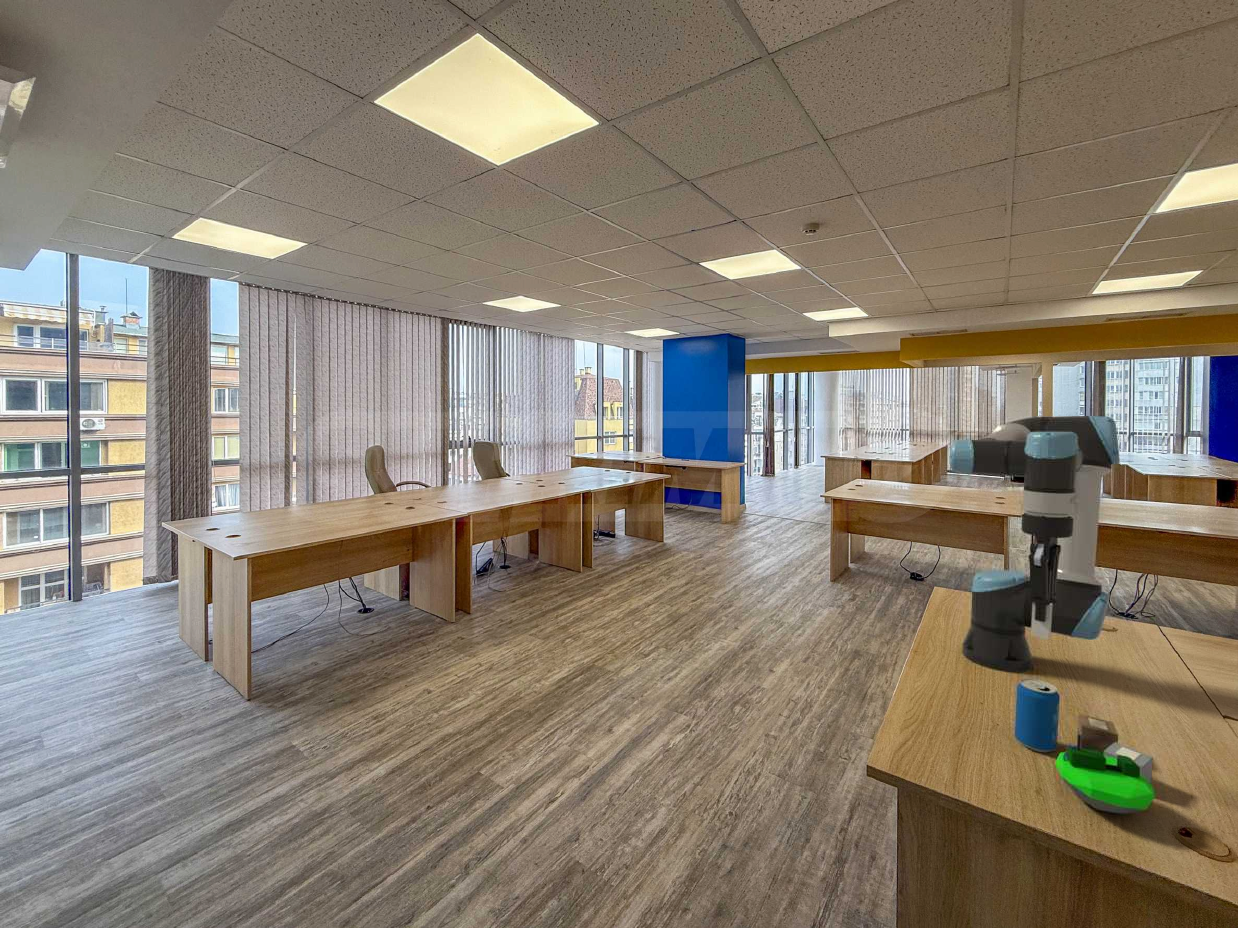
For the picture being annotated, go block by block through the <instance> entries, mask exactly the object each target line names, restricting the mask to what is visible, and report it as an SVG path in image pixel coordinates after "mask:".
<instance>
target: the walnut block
mask: <svg viewBox="0 0 1238 928" xmlns="http://www.w3.org/2000/svg"><path fill="white" fill-rule="evenodd" d="M1077 720H1078V723H1077V737H1076V739H1077V740H1078V734H1079V735H1081V741H1080V748H1083V749H1089V750H1095V751H1100V752H1101V753H1102V754H1104V750H1106V749H1107V748H1108V747H1109V746H1110V745H1112V744H1113V743H1114V742H1116V743H1119V733H1118V731H1117V728H1116V726H1115V724H1114V722H1113V721H1110V720H1109V721H1108V720H1105V719H1102V718H1097V717H1092V716H1087V715H1083V714H1078V719H1077Z"/></svg>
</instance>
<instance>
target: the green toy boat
mask: <svg viewBox="0 0 1238 928" xmlns="http://www.w3.org/2000/svg"><path fill="white" fill-rule="evenodd" d="M1077 735H1078V739H1077V741H1076V742H1077V743H1076V745H1072V744H1068V745H1067V747H1066V751H1064V752H1060V753H1059V755H1058V756H1057V758H1056V760H1055V765H1056V768H1057V770H1058V772H1059V773H1058V774H1060V776H1061V778H1062V780H1063V782H1064V783H1065V785H1067V787H1068V788H1069V789H1070V790H1071V791H1072V793H1073V794H1075V795H1076V797H1077V798H1078V799H1080V800H1081V801H1083V802H1085V803H1086V804H1088V805H1090V807H1092V808H1094V809H1096V810H1098V811H1103V812H1109V813H1113V814H1123V815H1124V814H1125V815H1129V814H1133V813H1137V812H1142V811H1145V810H1147V809H1148V808H1149V806H1150V805H1151V803H1152V802H1153V800H1154V799H1155V797H1156V796H1155V789H1154V786H1153V785H1152V783H1151V784H1150V783H1149V782H1148V781H1147V780H1146V779H1145V778H1144V777H1143V776H1142V775H1141V774H1140V767H1139V766H1138V765H1137V764H1136V763H1135V762H1134V761H1133V760H1132V759H1131V758H1129V757H1127V756H1122V755H1117V759H1116V758H1111V757H1107V756H1103V754H1102V753H1101V752H1100V751H1095V750H1089V749H1083V748H1080V741H1081V735H1079V734H1078V733H1077Z"/></svg>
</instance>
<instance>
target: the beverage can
mask: <svg viewBox="0 0 1238 928" xmlns="http://www.w3.org/2000/svg"><path fill="white" fill-rule="evenodd" d="M1015 699H1016V700H1015V701H1016V702H1015V703H1016V704H1015V721H1014V724H1015V725H1014V737H1015V739H1016V740H1017V741H1018V742H1019V743H1020V744H1021V745H1022V746H1023V747H1026V749H1029V750H1032V751H1035V752H1039V753H1049V752H1052V751H1055V750H1056V749H1058V734H1059V733H1058V732H1059V719H1060V718H1059V716H1060V715H1059V713H1060V700H1061V698H1060V694H1059V693H1058V688H1057V687H1056V686H1055V685H1053V684H1052V683H1050V682H1047V681H1045V680H1042V679H1037V678H1031V677H1030V678H1029V677H1025V678H1021V679H1020V681H1019V683H1018V684H1017V685H1016V698H1015Z"/></svg>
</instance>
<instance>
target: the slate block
mask: <svg viewBox="0 0 1238 928" xmlns="http://www.w3.org/2000/svg"><path fill="white" fill-rule="evenodd" d="M1117 755H1122V756H1127V757H1129V758H1131V759H1132V760H1133V761H1134V762H1135V763H1136V764H1137V765H1138V766H1139V767H1140V774H1141V775H1142V776H1143V777H1144V778H1145V779H1146V780H1147V781H1148V782H1149V783H1150V784H1151V785H1152V774H1153V763H1154V762H1153V759H1154V756H1151V755H1149V754H1147V753H1144V752H1142V751H1139V750H1137V749H1134V748H1132V747H1128V746H1126V745H1124V744H1122V743H1121V744H1120V743H1119V742H1118V743H1116V742H1114V743H1113V744H1112V745H1110V746H1109V747H1108V748H1107V749H1106V750H1104V754H1103V756H1107V757H1111V758H1116V759H1117Z"/></svg>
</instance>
